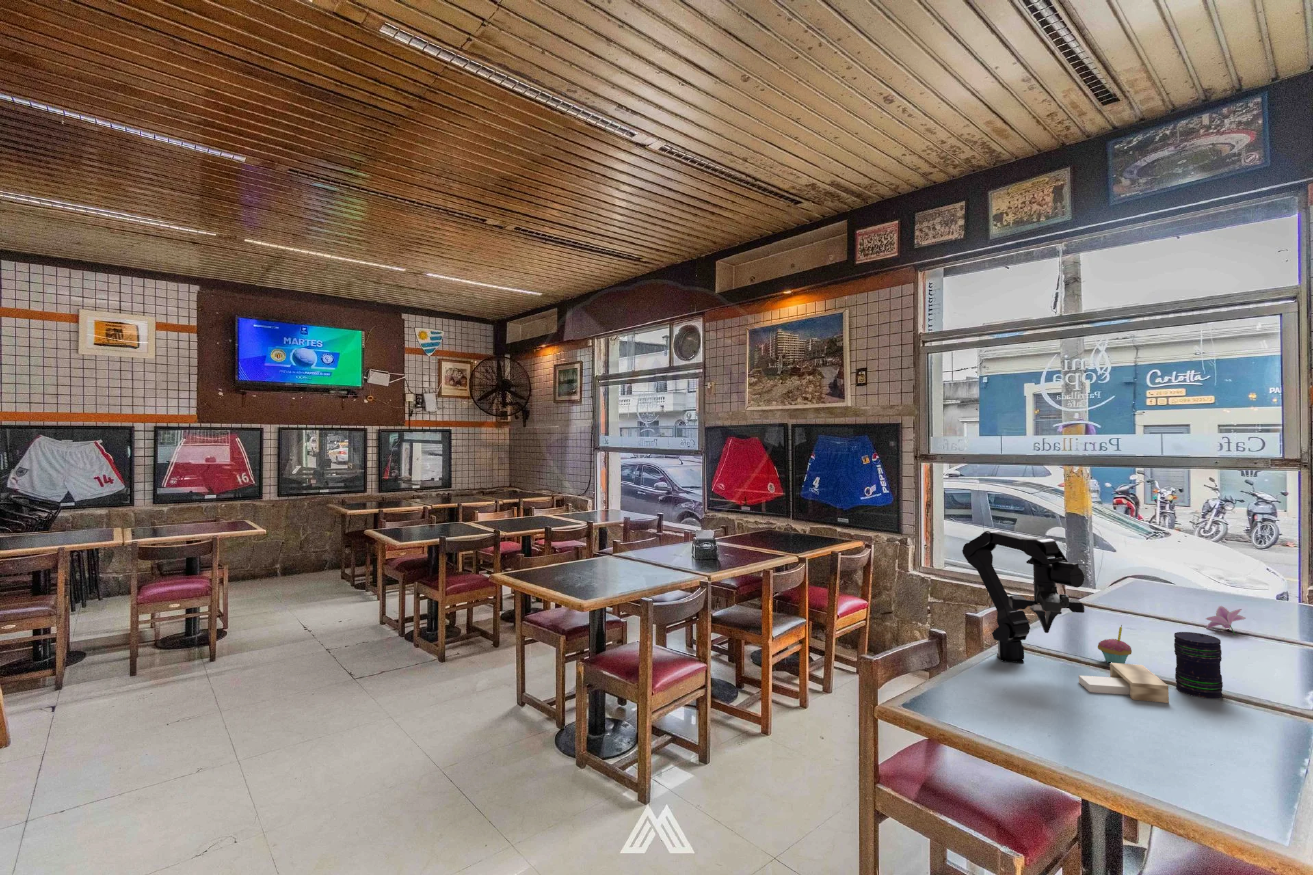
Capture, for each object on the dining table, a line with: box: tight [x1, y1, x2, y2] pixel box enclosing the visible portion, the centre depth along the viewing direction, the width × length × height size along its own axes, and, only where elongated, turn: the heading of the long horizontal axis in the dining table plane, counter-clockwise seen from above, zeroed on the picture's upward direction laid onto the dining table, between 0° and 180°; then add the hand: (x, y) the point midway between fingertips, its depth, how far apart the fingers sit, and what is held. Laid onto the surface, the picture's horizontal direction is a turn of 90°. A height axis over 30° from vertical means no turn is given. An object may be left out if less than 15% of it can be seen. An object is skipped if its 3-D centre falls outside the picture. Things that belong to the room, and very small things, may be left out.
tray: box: [1078, 675, 1130, 696], centre depth 172 cm, size 16×7×2 cm, turn 76°
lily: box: [1205, 605, 1247, 636], centre depth 220 cm, size 12×12×10 cm
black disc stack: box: [1173, 631, 1224, 700], centre depth 169 cm, size 10×10×15 cm
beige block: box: [1109, 663, 1170, 704], centre depth 171 cm, size 8×16×4 cm, turn 161°
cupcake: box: [1097, 624, 1133, 664], centre depth 193 cm, size 9×8×12 cm
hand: (1046, 632), depth 185 cm, fingers closed
